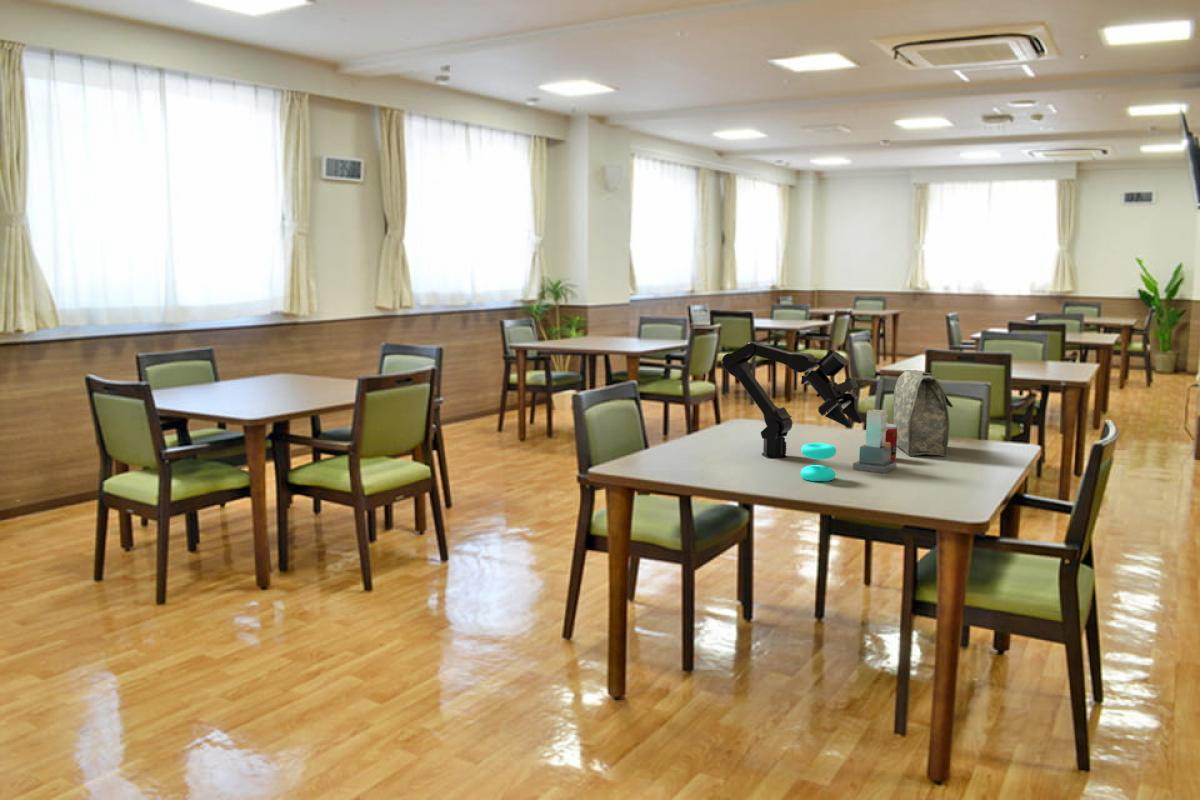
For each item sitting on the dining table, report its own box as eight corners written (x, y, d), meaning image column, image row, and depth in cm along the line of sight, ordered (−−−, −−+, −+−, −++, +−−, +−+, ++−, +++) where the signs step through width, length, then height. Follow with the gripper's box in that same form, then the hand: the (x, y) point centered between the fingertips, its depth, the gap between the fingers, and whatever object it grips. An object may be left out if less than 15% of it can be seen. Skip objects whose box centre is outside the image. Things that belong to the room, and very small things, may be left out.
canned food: (897, 461, 309) (898, 427, 307) (871, 460, 311) (872, 426, 309) (894, 457, 316) (896, 423, 315) (869, 456, 318) (870, 422, 316)
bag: (954, 457, 316) (958, 373, 313) (904, 456, 317) (908, 373, 313) (933, 444, 339) (937, 366, 335) (887, 444, 339) (890, 366, 335)
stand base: (852, 469, 297) (853, 442, 296) (864, 464, 305) (865, 437, 304) (884, 473, 291) (886, 445, 290) (896, 467, 299) (897, 440, 298)
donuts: (808, 441, 289) (841, 444, 284) (807, 474, 291) (839, 477, 285) (796, 446, 281) (829, 449, 276) (795, 480, 282) (828, 484, 277)
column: (865, 449, 297) (867, 411, 295) (870, 447, 300) (872, 409, 299) (881, 451, 294) (883, 412, 292) (887, 449, 297) (888, 410, 296)
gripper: (829, 372, 293) (863, 411, 288) (853, 367, 308) (885, 404, 303) (804, 395, 299) (836, 434, 294) (828, 389, 314) (859, 426, 309)
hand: (855, 424), depth 300 cm, fingers open, 9 cm apart
